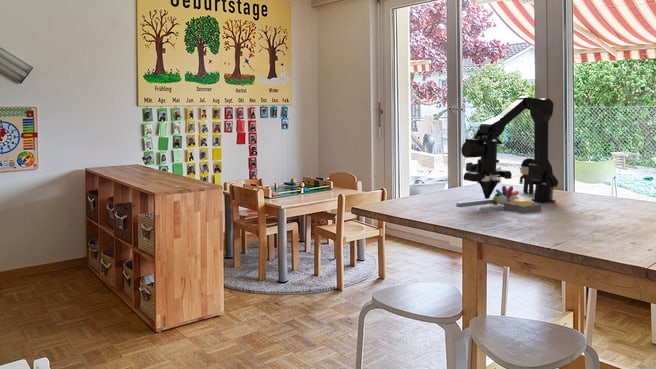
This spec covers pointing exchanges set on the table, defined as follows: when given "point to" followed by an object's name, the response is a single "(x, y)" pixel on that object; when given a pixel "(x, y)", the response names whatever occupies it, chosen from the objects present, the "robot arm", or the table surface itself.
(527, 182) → the toy
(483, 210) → the rail
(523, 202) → the dome
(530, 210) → the dome housing
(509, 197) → the multicoloured petal shapes
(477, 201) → the rail
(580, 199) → the table surface
